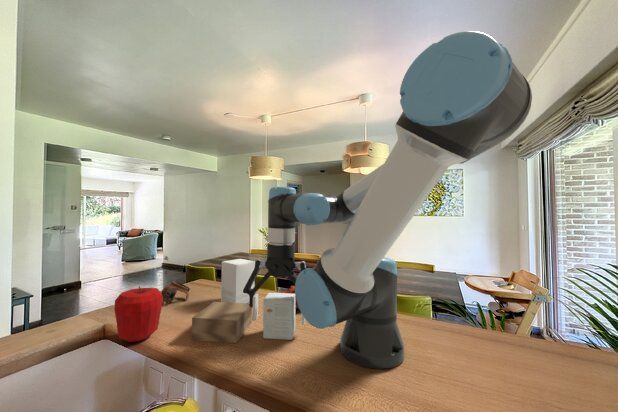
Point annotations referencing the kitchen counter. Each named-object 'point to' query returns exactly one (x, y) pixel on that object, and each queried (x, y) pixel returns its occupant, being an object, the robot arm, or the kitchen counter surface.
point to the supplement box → (236, 280)
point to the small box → (279, 316)
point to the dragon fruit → (292, 291)
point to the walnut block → (222, 322)
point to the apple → (138, 313)
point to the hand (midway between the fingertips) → (279, 320)
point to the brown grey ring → (173, 291)
